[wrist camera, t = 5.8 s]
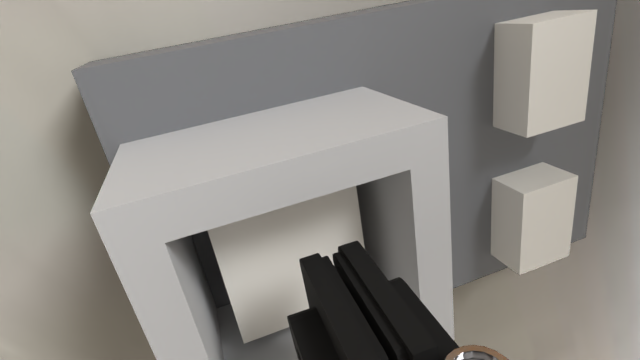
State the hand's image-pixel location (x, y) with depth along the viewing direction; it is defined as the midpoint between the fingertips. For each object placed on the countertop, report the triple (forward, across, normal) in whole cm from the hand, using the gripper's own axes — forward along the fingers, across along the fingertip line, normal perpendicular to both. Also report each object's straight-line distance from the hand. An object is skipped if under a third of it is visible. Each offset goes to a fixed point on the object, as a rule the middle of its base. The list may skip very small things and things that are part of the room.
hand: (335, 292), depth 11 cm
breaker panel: (+9, -5, +1) cm, 10 cm away
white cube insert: (+5, +1, 0) cm, 5 cm away
